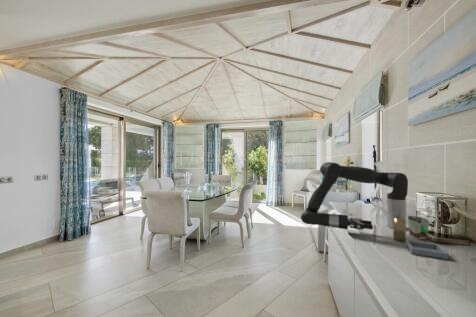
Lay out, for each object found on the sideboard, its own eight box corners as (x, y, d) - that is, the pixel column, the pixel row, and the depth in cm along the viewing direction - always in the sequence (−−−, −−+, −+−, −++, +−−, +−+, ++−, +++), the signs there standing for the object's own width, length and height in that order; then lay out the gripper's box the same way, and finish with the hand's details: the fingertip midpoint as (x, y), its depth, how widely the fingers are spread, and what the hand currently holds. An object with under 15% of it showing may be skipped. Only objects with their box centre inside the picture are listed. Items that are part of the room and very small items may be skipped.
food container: (436, 242, 108) (435, 221, 108) (421, 241, 109) (421, 221, 109) (420, 234, 120) (420, 216, 120) (407, 233, 121) (407, 215, 121)
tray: (405, 245, 103) (405, 240, 103) (438, 250, 97) (437, 244, 97) (411, 254, 92) (411, 248, 92) (448, 260, 87) (448, 253, 87)
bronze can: (392, 238, 113) (392, 216, 113) (404, 239, 111) (404, 217, 111) (394, 241, 109) (394, 218, 109) (406, 242, 106) (406, 220, 107)
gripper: (337, 217, 116) (373, 221, 109) (338, 212, 129) (371, 215, 122) (337, 231, 116) (373, 236, 109) (338, 224, 129) (371, 228, 121)
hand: (372, 225), depth 115 cm, fingers open, 8 cm apart
